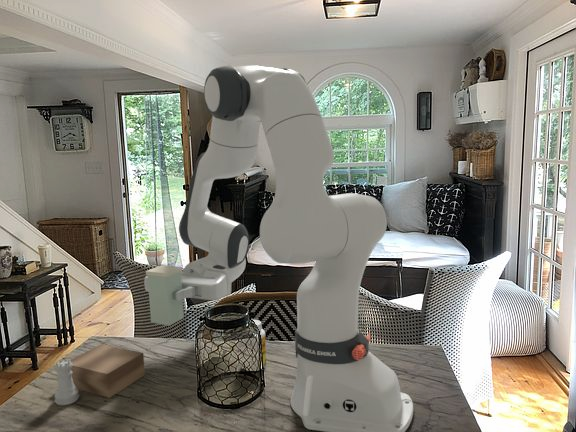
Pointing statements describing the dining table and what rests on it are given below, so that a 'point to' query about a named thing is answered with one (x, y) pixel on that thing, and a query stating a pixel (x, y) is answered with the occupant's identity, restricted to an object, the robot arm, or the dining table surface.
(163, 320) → the sage tin
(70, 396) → the rook chess piece
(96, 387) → the walnut block
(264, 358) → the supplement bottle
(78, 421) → the dining table surface
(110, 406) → the dining table surface
